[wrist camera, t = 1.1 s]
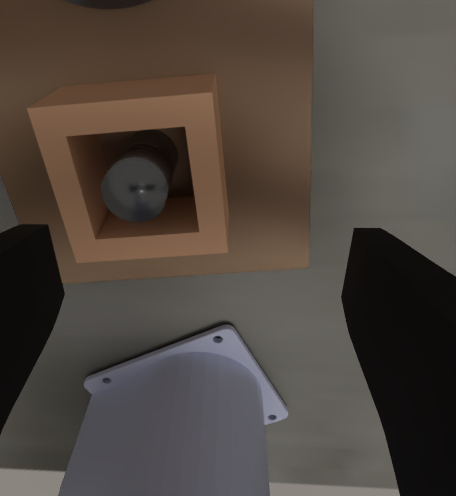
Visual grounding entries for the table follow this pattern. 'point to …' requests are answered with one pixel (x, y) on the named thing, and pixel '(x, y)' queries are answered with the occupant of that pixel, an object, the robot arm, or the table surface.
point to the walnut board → (231, 121)
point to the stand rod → (141, 176)
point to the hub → (108, 3)
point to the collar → (94, 169)
